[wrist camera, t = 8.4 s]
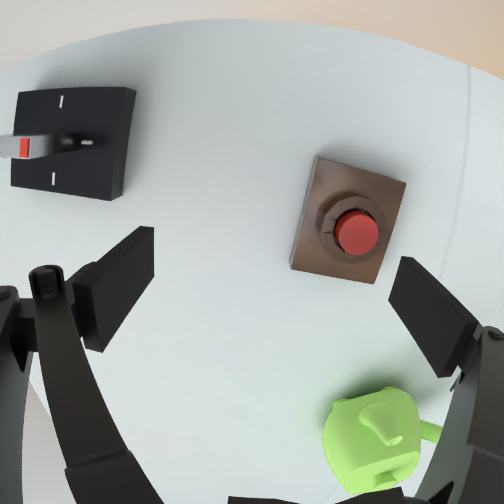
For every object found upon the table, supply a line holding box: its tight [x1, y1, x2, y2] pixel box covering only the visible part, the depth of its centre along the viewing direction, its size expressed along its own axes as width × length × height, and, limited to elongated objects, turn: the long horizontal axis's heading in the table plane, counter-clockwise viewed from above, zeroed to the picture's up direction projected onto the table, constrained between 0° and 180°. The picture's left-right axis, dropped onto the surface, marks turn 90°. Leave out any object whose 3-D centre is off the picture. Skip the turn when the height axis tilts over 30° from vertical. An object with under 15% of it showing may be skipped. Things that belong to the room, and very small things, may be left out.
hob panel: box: [11, 87, 136, 201], centre depth 28 cm, size 12×16×3 cm
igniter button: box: [335, 211, 378, 255], centre depth 28 cm, size 4×4×2 cm
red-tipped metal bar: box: [0, 131, 78, 159], centre depth 23 cm, size 6×2×8 cm, turn 79°
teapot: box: [322, 386, 443, 494], centre depth 36 cm, size 25×22×16 cm
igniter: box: [289, 156, 406, 284], centre depth 31 cm, size 12×10×4 cm
